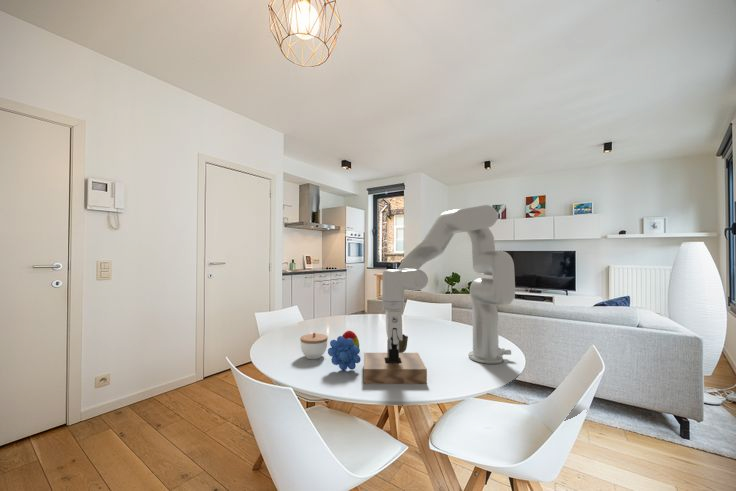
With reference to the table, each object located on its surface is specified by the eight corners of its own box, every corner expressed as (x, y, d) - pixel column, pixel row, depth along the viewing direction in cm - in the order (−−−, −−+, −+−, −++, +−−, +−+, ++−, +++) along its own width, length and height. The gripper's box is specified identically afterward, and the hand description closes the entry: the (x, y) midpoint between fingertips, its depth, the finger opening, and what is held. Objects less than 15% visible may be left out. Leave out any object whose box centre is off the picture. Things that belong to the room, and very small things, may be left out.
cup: (407, 353, 124) (407, 333, 125) (408, 359, 117) (408, 338, 117) (389, 352, 125) (389, 333, 125) (389, 358, 118) (389, 338, 118)
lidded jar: (327, 351, 126) (327, 329, 126) (327, 360, 115) (328, 336, 116) (300, 353, 124) (301, 330, 124) (299, 362, 114) (299, 337, 114)
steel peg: (398, 361, 105) (398, 338, 105) (399, 365, 101) (399, 341, 101) (386, 361, 105) (386, 338, 105) (387, 365, 101) (387, 341, 101)
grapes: (325, 375, 102) (326, 339, 102) (328, 367, 108) (328, 334, 109) (360, 375, 101) (360, 339, 102) (360, 367, 108) (360, 334, 109)
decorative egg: (355, 351, 126) (356, 327, 126) (361, 358, 118) (362, 332, 119) (336, 353, 123) (337, 329, 124) (341, 360, 116) (341, 334, 116)
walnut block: (417, 365, 111) (417, 352, 111) (426, 383, 95) (426, 369, 95) (363, 364, 111) (363, 352, 111) (363, 383, 95) (363, 369, 95)
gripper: (407, 309, 95) (407, 367, 95) (401, 301, 112) (401, 350, 112) (383, 309, 95) (383, 367, 95) (381, 301, 112) (381, 350, 112)
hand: (393, 358), depth 103 cm, fingers closed on steel peg, 4 cm apart
